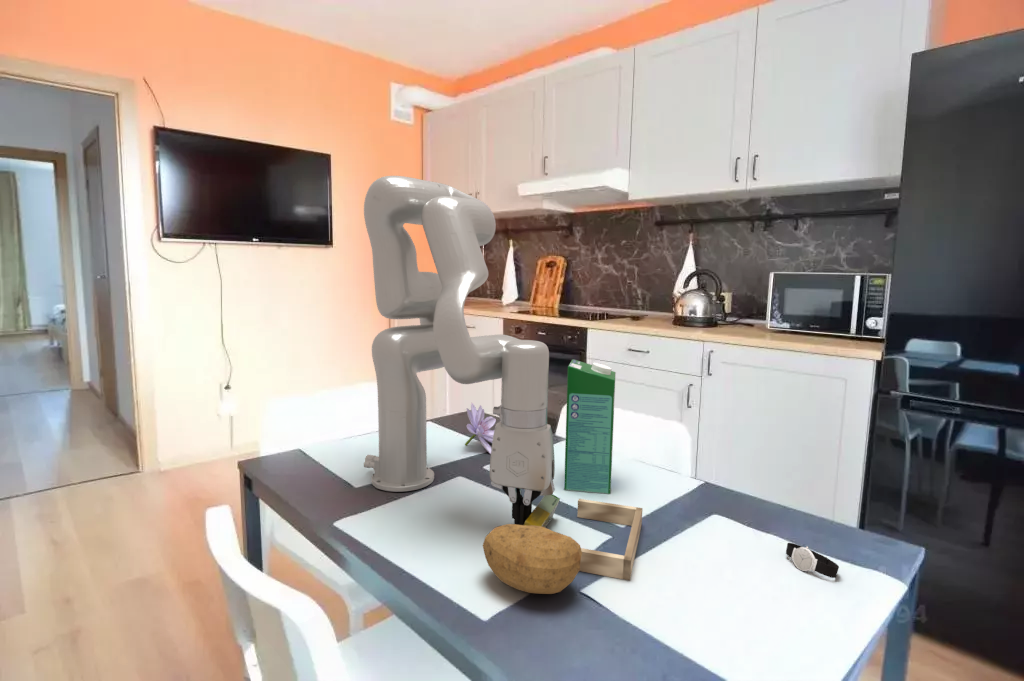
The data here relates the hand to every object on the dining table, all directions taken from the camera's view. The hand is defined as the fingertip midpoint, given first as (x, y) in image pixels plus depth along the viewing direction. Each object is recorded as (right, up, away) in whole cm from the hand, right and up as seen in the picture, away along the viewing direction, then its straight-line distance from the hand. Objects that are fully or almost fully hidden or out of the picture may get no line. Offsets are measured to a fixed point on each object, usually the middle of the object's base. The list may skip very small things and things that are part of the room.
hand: (521, 523), depth 90 cm
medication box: (+2, -1, 0) cm, 2 cm away
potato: (+1, -3, -16) cm, 16 cm away
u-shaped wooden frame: (+12, -2, -4) cm, 13 cm away
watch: (+43, -4, -10) cm, 44 cm away
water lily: (-8, +4, +42) cm, 43 cm away
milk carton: (+14, +1, +21) cm, 25 cm away
